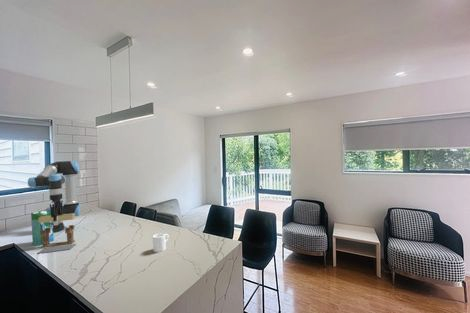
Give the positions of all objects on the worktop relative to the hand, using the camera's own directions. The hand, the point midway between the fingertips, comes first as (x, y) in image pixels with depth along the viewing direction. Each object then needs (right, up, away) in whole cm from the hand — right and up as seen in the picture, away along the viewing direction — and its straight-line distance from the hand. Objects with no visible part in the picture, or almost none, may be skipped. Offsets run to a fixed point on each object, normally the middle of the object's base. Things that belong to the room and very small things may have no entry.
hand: (57, 224), depth 164 cm
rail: (0, +3, 0) cm, 3 cm away
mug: (+87, -12, -16) cm, 89 cm away
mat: (+7, -16, -9) cm, 19 cm away
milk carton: (-16, -17, +6) cm, 24 cm away
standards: (+1, -16, 0) cm, 16 cm away
